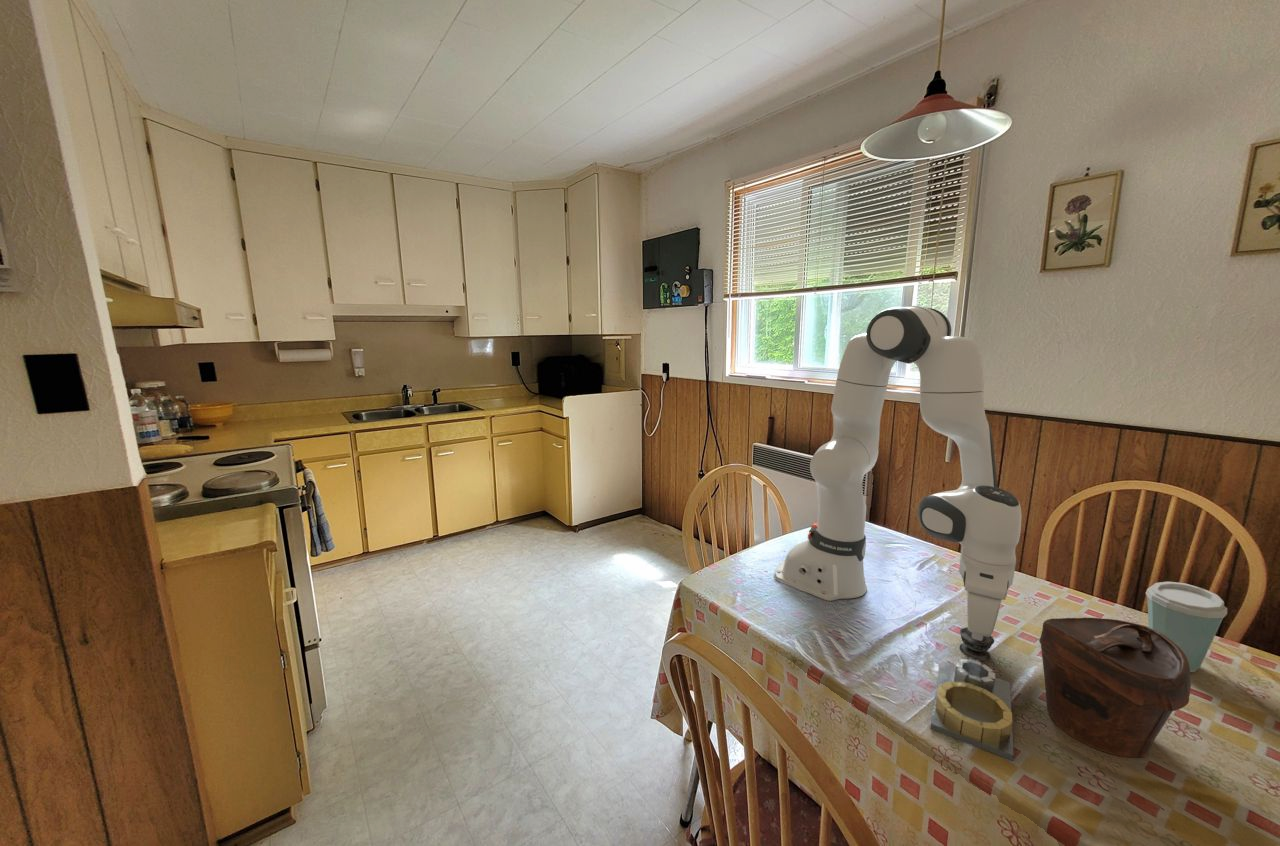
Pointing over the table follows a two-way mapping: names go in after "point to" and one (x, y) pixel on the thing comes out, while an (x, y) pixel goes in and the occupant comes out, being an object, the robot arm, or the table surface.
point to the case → (1112, 682)
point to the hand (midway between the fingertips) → (977, 631)
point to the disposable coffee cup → (1185, 617)
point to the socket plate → (974, 707)
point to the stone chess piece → (975, 645)
